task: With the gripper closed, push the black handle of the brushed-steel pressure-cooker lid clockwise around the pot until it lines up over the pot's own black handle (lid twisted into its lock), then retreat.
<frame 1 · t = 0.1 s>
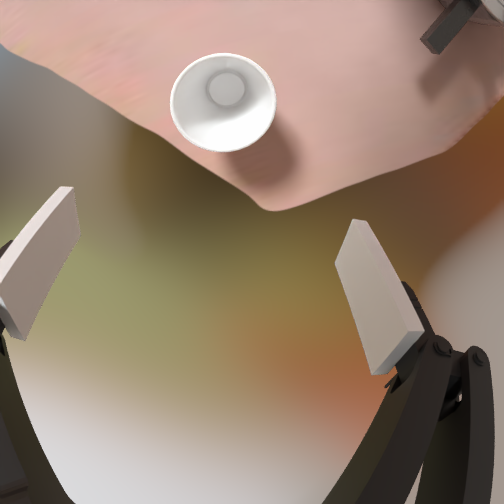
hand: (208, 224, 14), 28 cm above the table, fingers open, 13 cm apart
cup: (226, 88, 34), on the table
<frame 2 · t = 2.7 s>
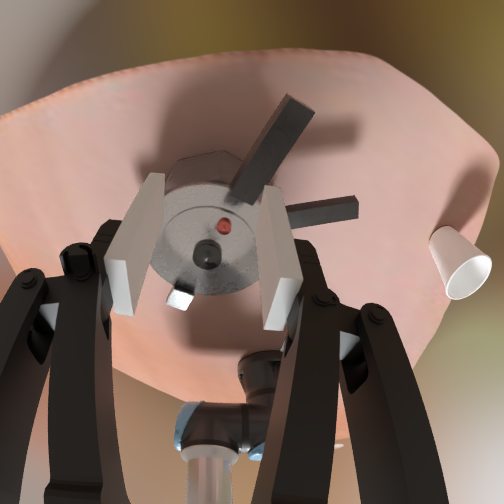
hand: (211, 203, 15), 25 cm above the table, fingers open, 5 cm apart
cup: (440, 237, 49), on the table
lid: (224, 223, 32), point 11 cm above the table, hinge at 50.0°
cooker pot: (213, 203, 43), on the table
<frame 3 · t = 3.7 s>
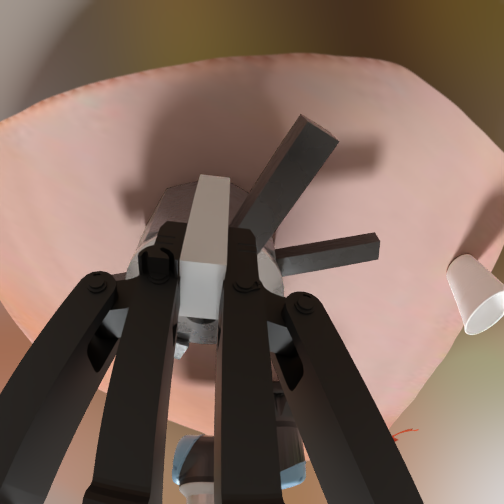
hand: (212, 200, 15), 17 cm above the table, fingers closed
cup: (458, 266, 43), on the table
lid: (221, 273, 27), point 11 cm above the table, hinge at 50.0°
cooker pot: (209, 236, 37), on the table
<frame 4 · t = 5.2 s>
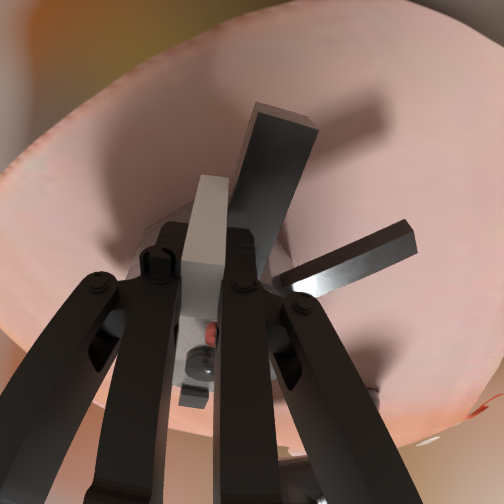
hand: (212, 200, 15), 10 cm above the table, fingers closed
lid: (215, 327, 21), point 11 cm above the table, hinge at 45.3°, touching gripper
cooker pot: (213, 267, 32), on the table
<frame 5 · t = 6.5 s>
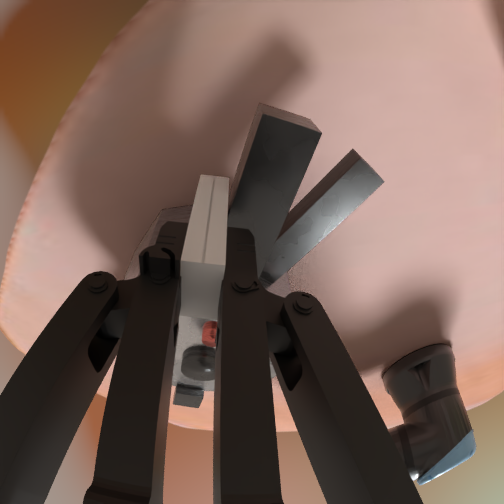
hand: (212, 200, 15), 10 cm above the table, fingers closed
lid: (212, 326, 21), point 11 cm above the table, hinge at 21.3°, touching gripper
cooker pot: (210, 267, 32), on the table
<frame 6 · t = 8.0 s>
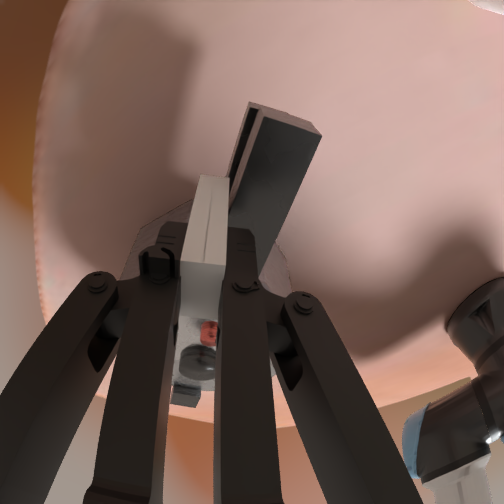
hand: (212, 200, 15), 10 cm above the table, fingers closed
lid: (210, 326, 21), point 11 cm above the table, hinge at -1.2°, touching gripper
cooker pot: (208, 267, 32), on the table
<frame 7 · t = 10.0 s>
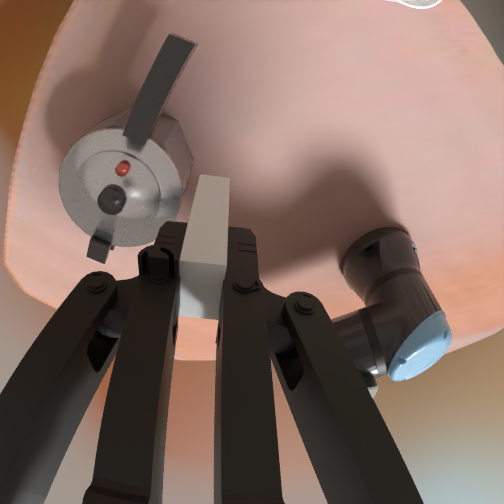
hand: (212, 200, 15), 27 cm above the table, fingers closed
lid: (124, 166, 30), point 11 cm above the table, hinge at -1.2°
cooker pot: (138, 158, 40), on the table
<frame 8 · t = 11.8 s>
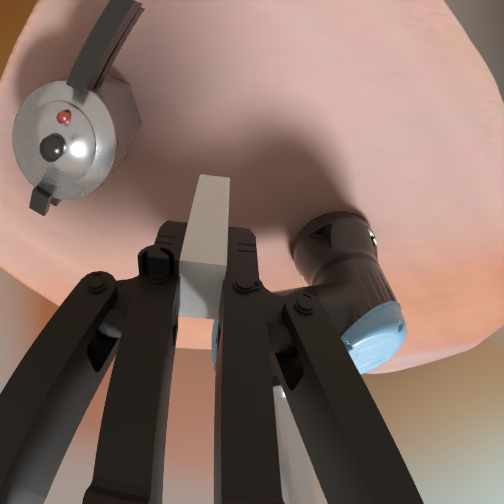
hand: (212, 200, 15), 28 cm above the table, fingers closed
lid: (66, 115, 27), point 11 cm above the table, hinge at -1.2°
cooker pot: (91, 120, 37), on the table
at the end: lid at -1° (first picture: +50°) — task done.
